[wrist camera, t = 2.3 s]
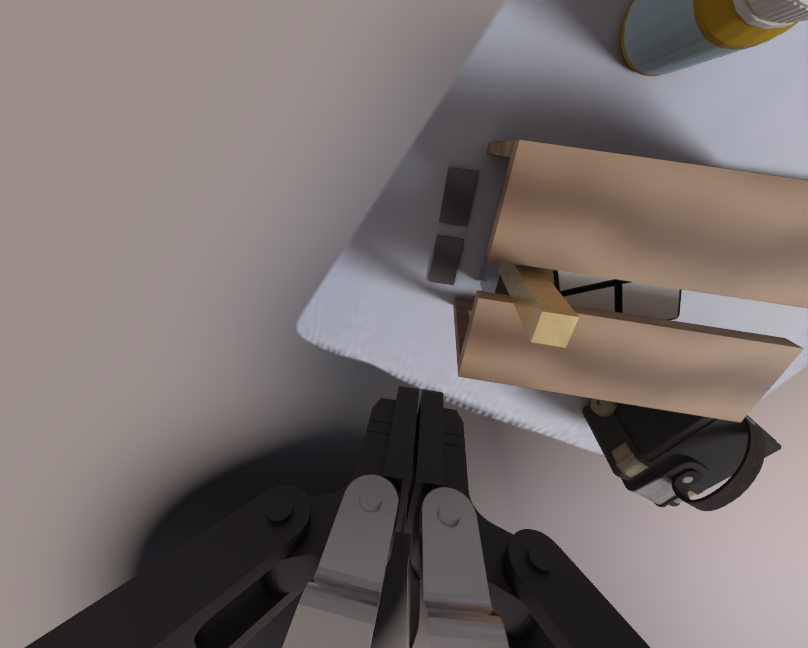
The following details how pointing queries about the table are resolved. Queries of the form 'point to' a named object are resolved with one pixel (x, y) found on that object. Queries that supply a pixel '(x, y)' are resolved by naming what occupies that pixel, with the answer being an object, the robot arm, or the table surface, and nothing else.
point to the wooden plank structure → (633, 274)
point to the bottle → (700, 30)
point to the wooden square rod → (532, 301)
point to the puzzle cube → (616, 295)
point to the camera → (679, 452)
